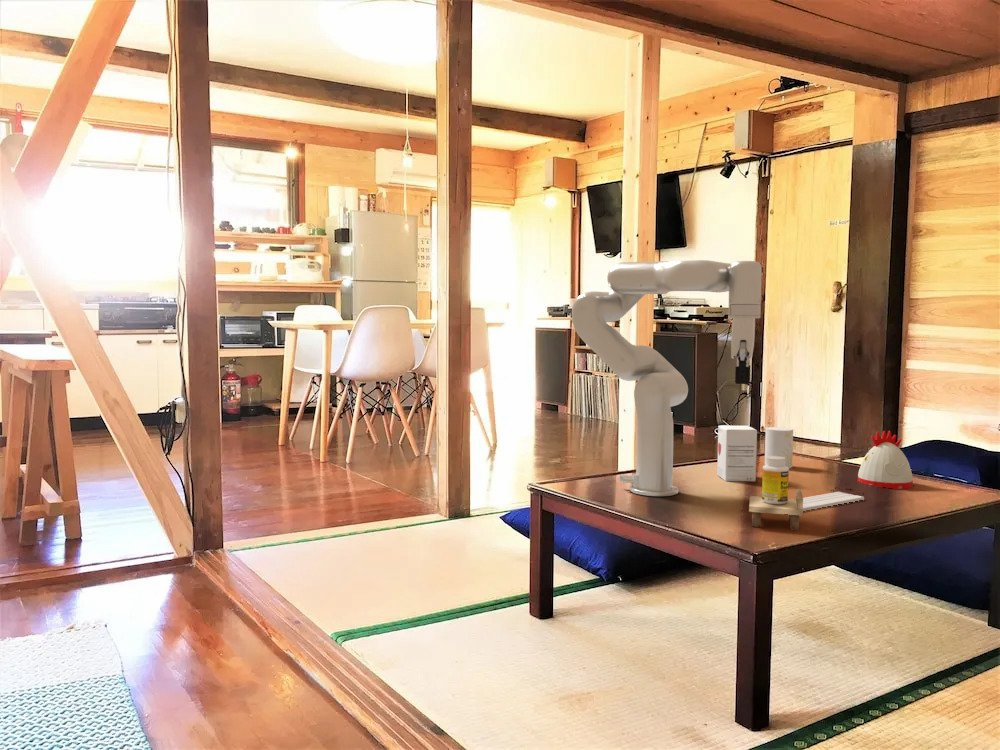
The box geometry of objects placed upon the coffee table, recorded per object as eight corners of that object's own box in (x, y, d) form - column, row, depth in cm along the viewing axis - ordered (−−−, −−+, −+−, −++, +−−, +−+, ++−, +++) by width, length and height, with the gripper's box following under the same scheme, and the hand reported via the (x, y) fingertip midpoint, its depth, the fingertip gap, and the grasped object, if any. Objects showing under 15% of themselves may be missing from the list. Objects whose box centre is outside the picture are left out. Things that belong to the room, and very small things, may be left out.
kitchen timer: (849, 479, 232) (851, 427, 231) (897, 479, 232) (899, 427, 231) (871, 488, 218) (873, 434, 217) (922, 489, 218) (924, 434, 217)
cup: (788, 470, 246) (789, 431, 245) (761, 467, 250) (762, 429, 249) (794, 466, 252) (795, 428, 252) (768, 463, 257) (769, 426, 256)
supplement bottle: (782, 506, 176) (783, 460, 175) (757, 502, 179) (758, 457, 179) (791, 502, 180) (793, 457, 179) (767, 498, 184) (768, 454, 183)
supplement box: (716, 475, 237) (717, 424, 236) (746, 475, 237) (747, 425, 236) (724, 481, 228) (726, 429, 227) (756, 481, 228) (757, 429, 227)
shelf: (748, 527, 176) (749, 495, 176) (749, 516, 187) (750, 485, 186) (802, 531, 173) (803, 499, 172) (799, 519, 183) (800, 489, 183)
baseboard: (752, 508, 196) (786, 517, 188) (752, 497, 196) (786, 505, 188) (829, 495, 212) (864, 502, 204) (830, 484, 212) (864, 491, 204)
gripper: (729, 312, 205) (728, 379, 206) (726, 311, 188) (725, 384, 189) (760, 312, 202) (758, 380, 203) (760, 311, 186) (758, 385, 187)
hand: (742, 382), depth 196 cm, fingers open, 9 cm apart
